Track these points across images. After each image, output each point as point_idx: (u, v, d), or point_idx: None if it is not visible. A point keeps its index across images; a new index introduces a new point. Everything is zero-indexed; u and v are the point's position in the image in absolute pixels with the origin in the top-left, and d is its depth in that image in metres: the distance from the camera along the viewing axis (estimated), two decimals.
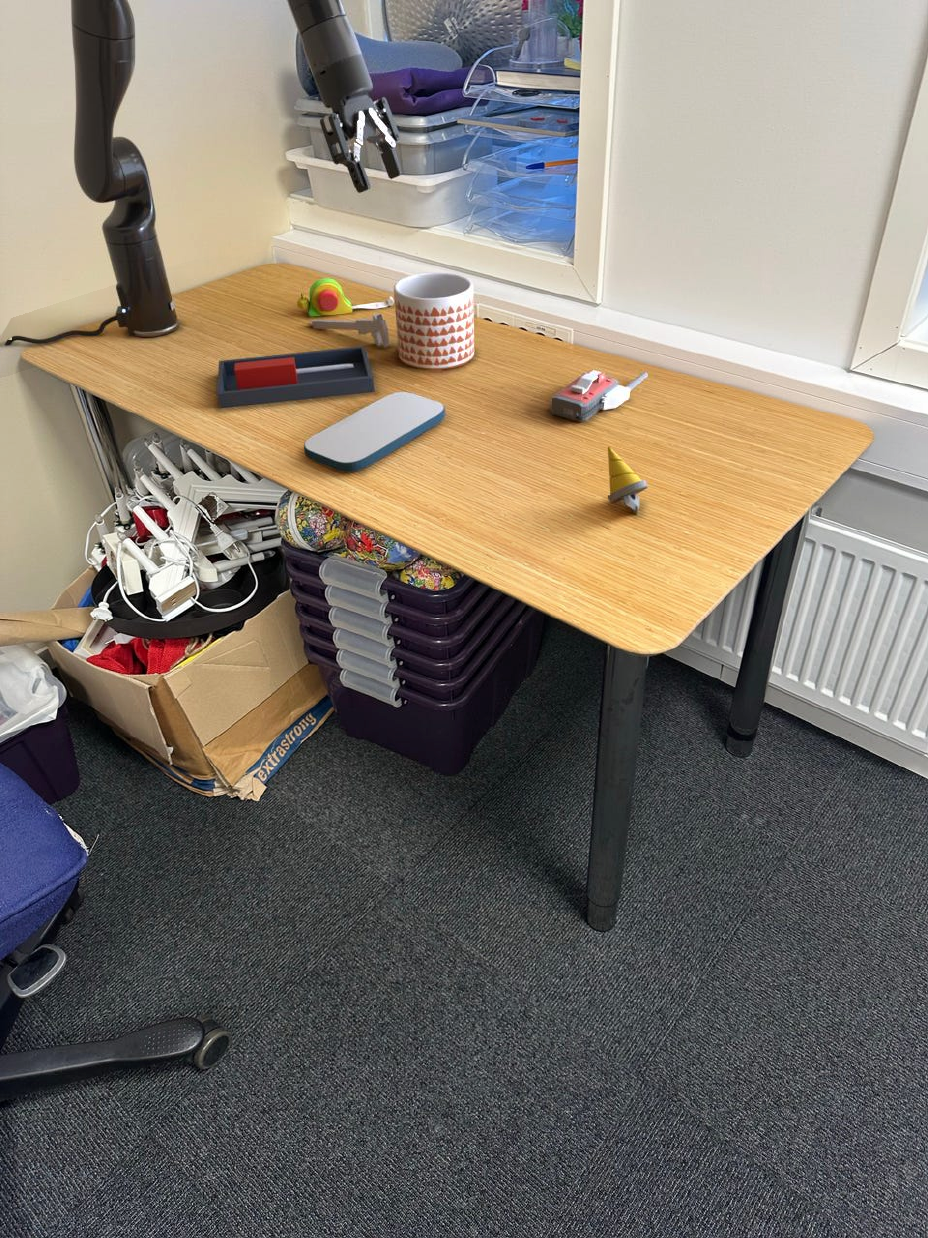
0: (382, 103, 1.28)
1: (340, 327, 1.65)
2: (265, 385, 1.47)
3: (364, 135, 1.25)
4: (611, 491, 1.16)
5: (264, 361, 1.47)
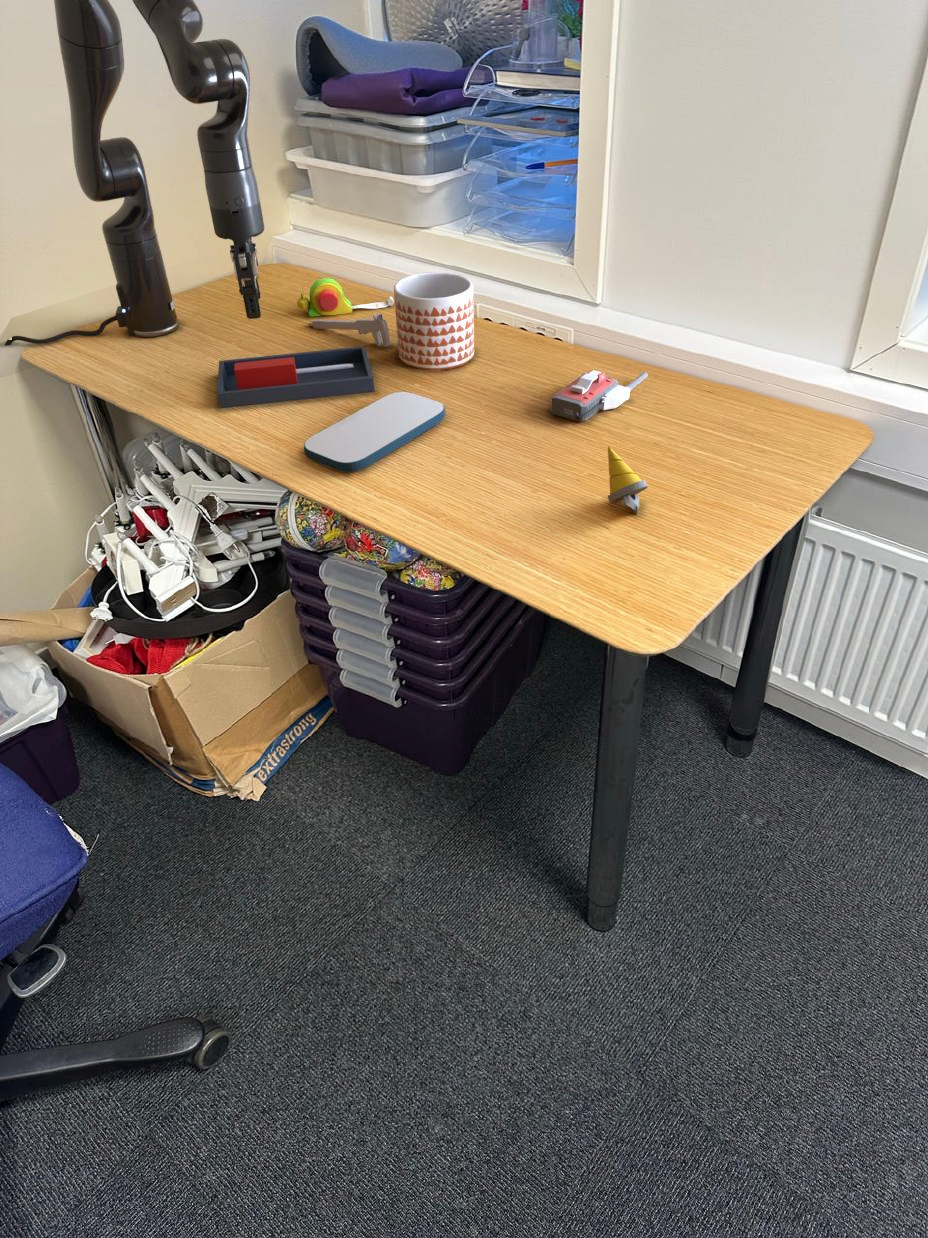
0: None
1: (340, 327, 1.65)
2: (265, 385, 1.47)
3: None
4: (611, 491, 1.16)
5: (264, 361, 1.47)
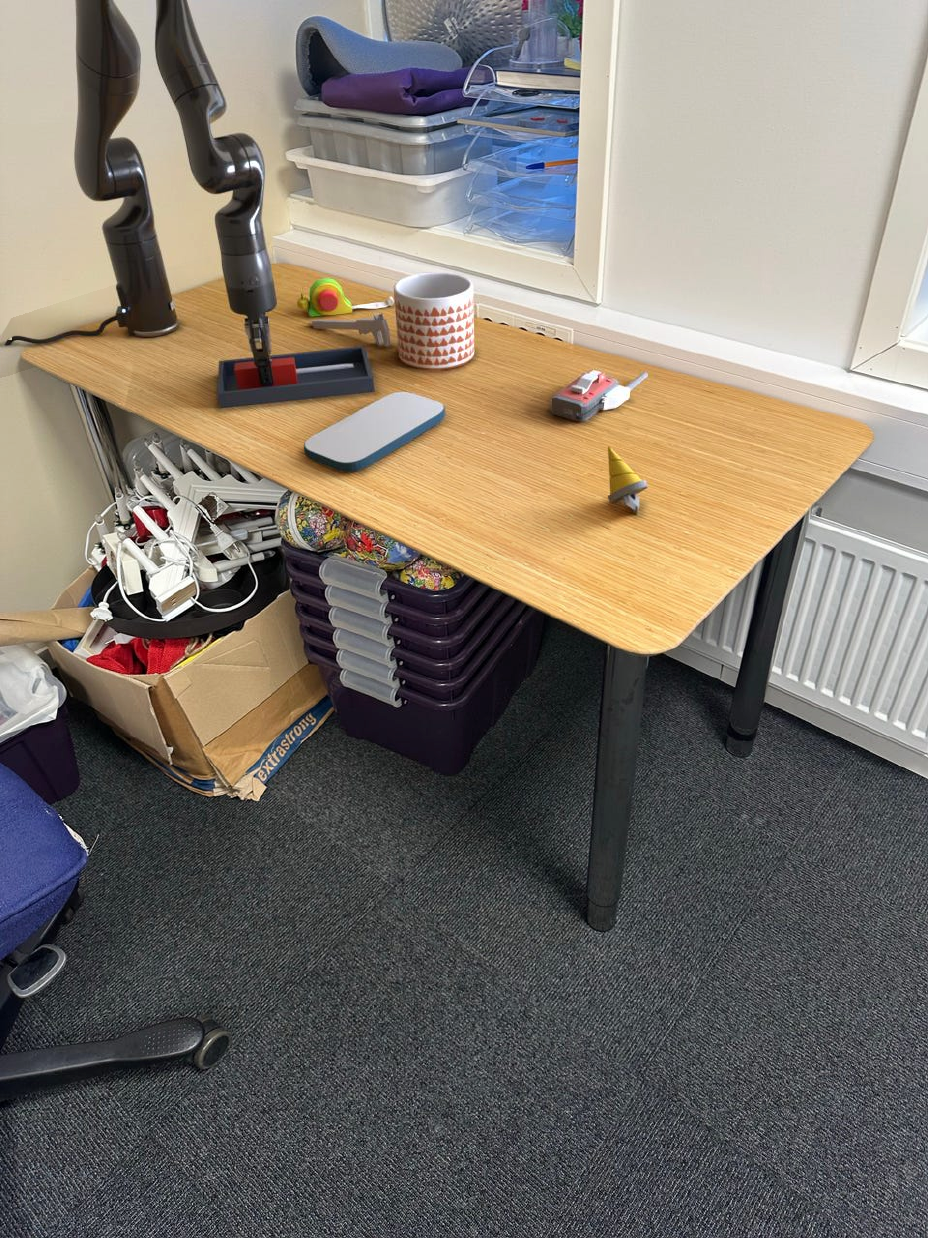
0: (264, 313, 1.46)
1: (340, 327, 1.65)
2: None
3: None
4: (611, 491, 1.16)
5: None
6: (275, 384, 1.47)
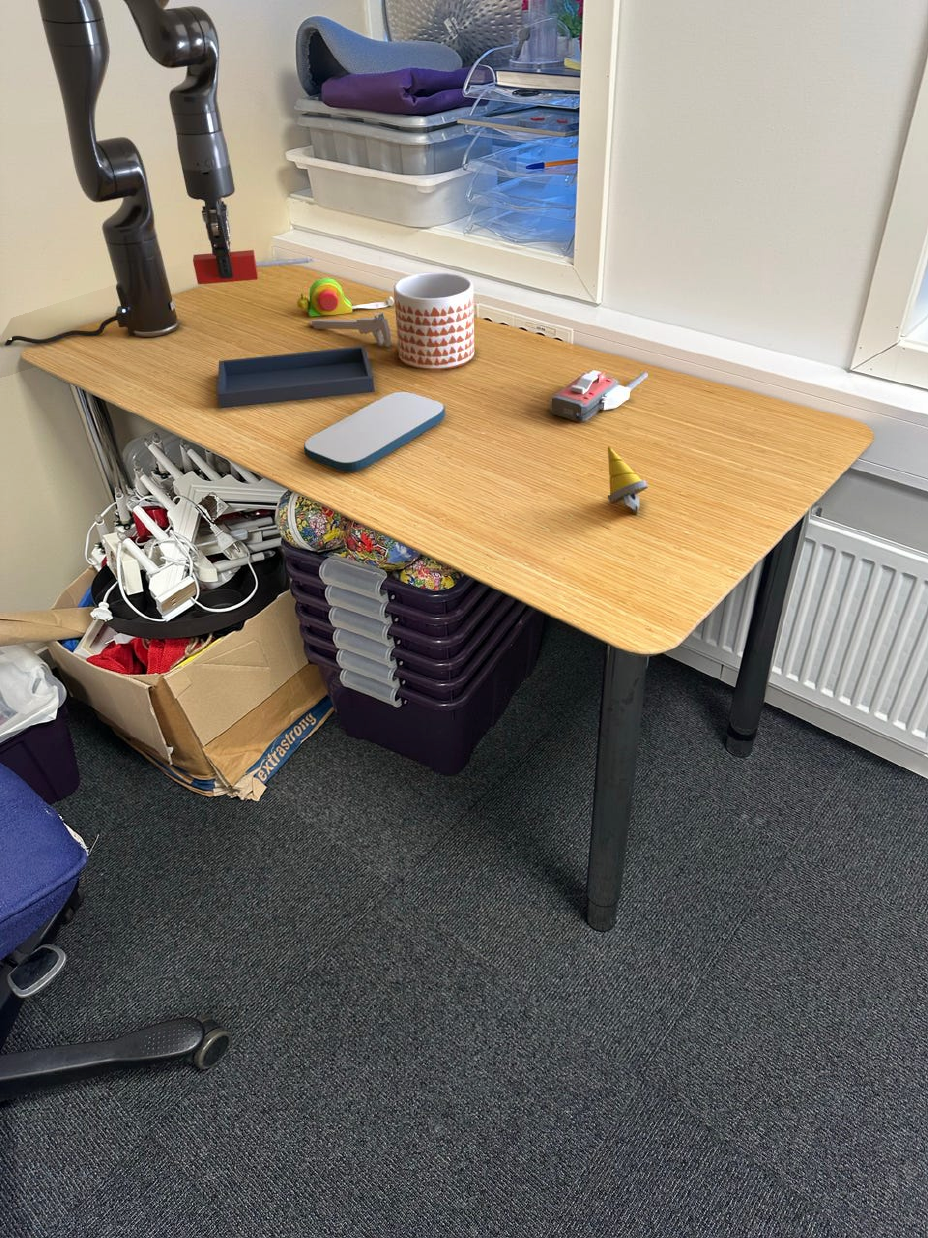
0: (223, 205, 1.46)
1: (341, 327, 1.65)
2: None
3: (224, 228, 1.42)
4: (611, 491, 1.16)
5: None
6: (234, 276, 1.47)
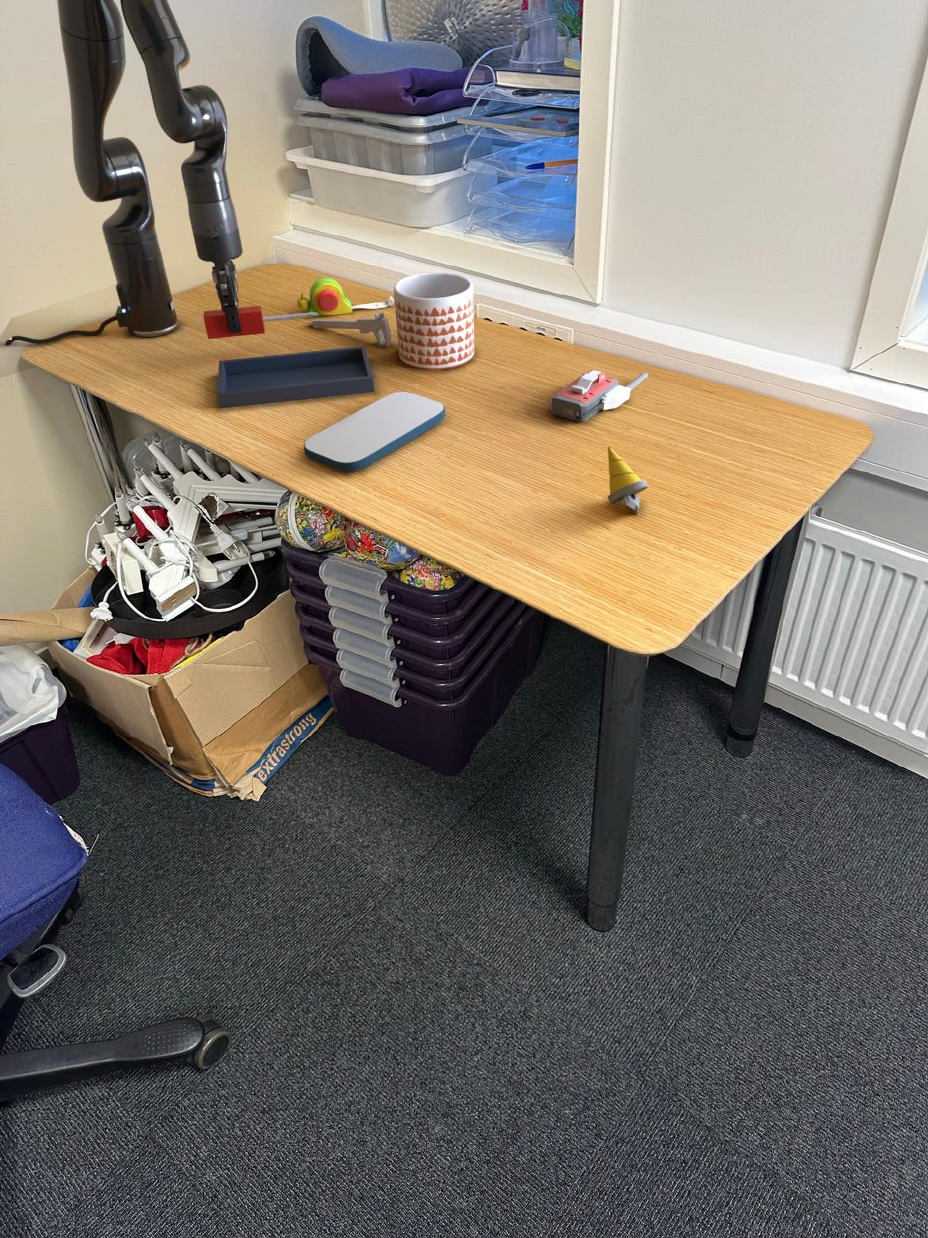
0: (231, 264, 1.54)
1: (341, 326, 1.65)
2: None
3: None
4: (611, 491, 1.16)
5: None
6: (243, 331, 1.55)
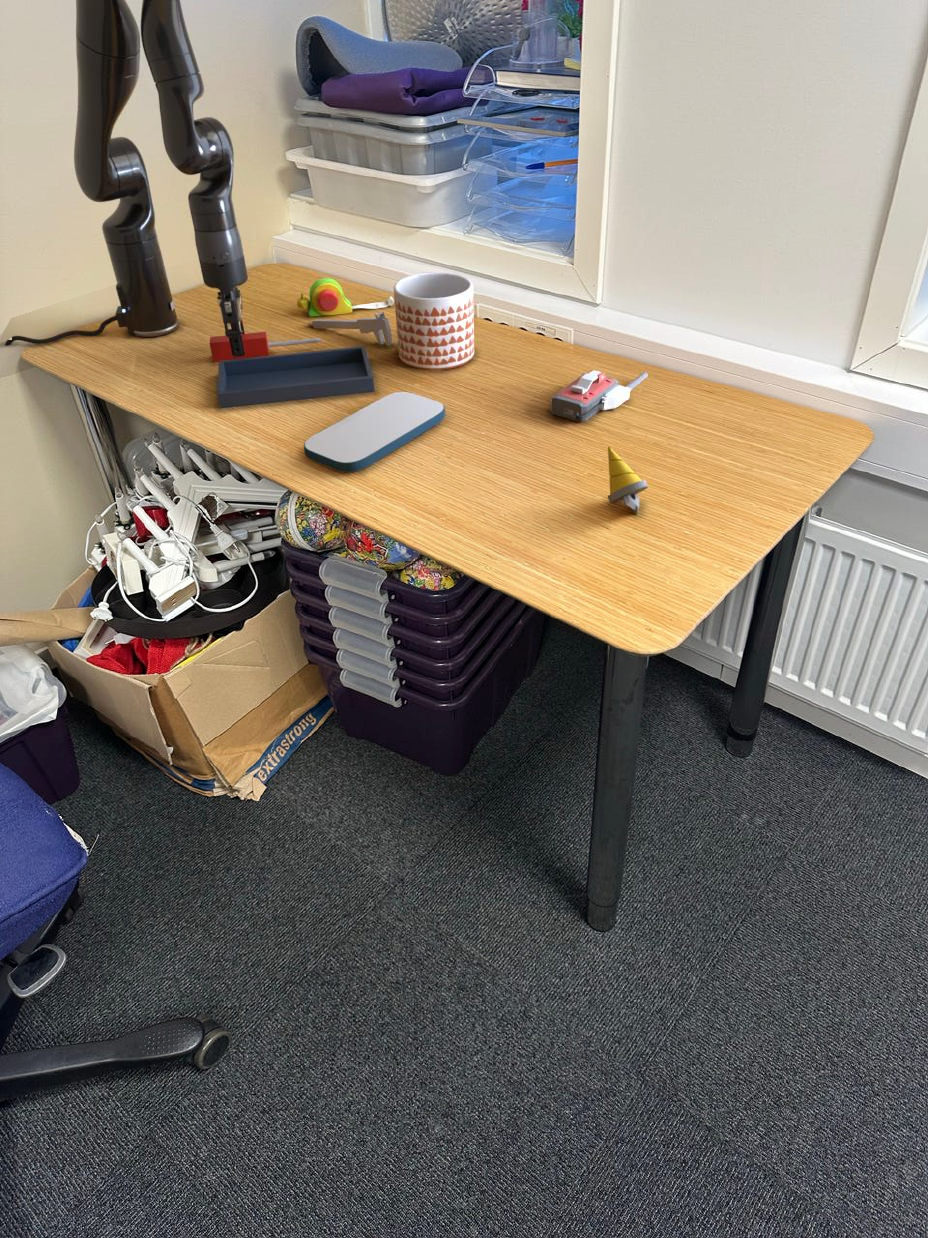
0: None
1: (341, 326, 1.65)
2: (239, 357, 1.57)
3: None
4: (611, 491, 1.16)
5: None
6: (248, 357, 1.58)
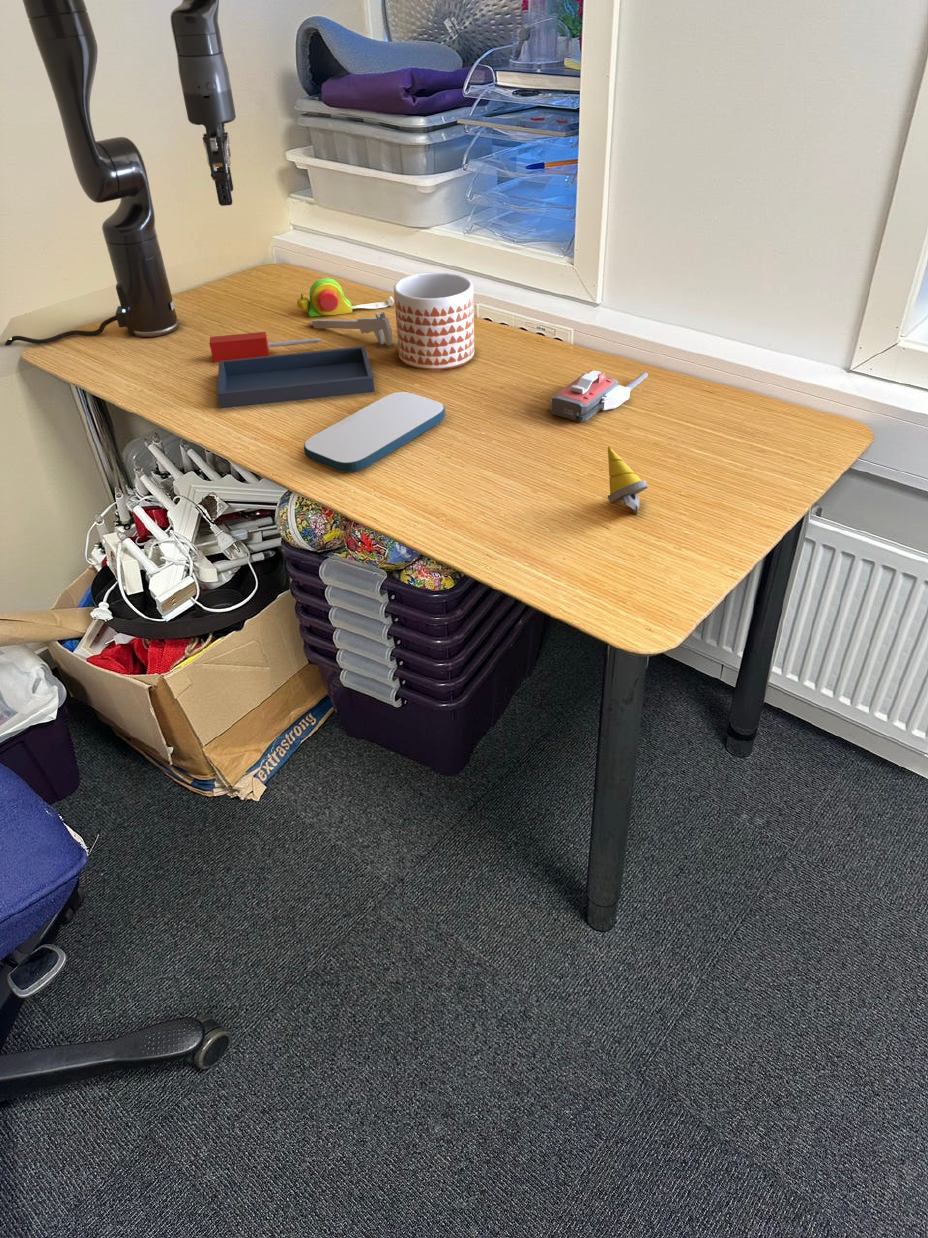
0: (223, 126, 1.45)
1: (341, 326, 1.65)
2: (239, 357, 1.57)
3: None
4: (611, 491, 1.16)
5: (238, 335, 1.57)
6: (248, 357, 1.58)
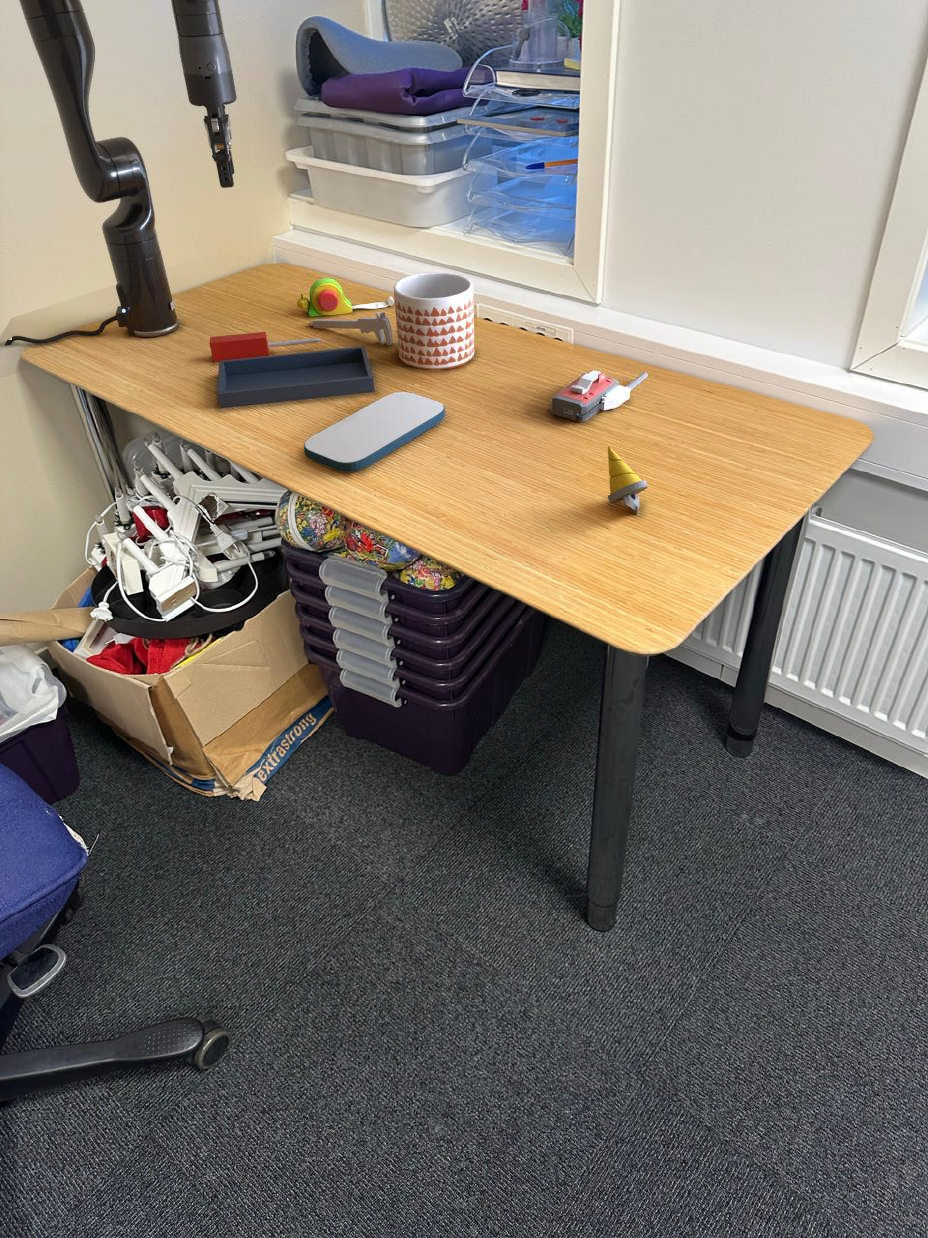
0: (223, 108, 1.45)
1: (342, 326, 1.65)
2: (239, 357, 1.57)
3: None
4: (611, 491, 1.16)
5: (238, 335, 1.57)
6: (248, 357, 1.58)
